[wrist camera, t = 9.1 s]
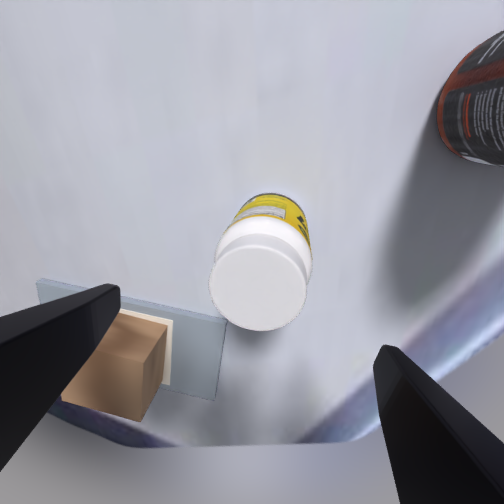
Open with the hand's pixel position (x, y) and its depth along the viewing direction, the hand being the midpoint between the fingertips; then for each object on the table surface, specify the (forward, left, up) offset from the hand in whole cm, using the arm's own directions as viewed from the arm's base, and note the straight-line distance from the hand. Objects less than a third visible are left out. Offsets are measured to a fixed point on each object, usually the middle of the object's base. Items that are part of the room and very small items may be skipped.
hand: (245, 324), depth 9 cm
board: (-10, -13, -10) cm, 19 cm away
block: (-10, -13, -10) cm, 19 cm away
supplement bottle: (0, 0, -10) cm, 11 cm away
